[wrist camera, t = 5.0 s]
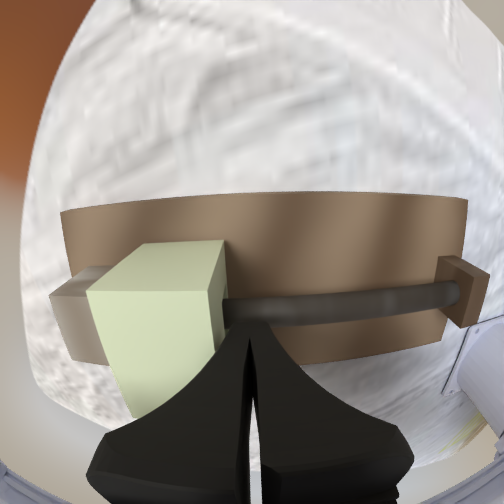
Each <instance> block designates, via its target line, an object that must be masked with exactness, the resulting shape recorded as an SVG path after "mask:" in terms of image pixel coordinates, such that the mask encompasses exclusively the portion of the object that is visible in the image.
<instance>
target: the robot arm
mask: <svg viewBox="0 0 504 504" xmlns="http://www.w3.org/2000/svg"><path fill="white" fill-rule="evenodd" d="M461 390H463V391H464V392H465V393H466V394H467V396H468V397H469V398H470V400H471V401H472V402H473V403H474V405H475V406H476V407H477V409H478V410H479V411H480V413H481V414H482V416H483V417H484V418H485V420H486V421H487V422H488V424H489V425H490V427H491V428H492V429H493V431H494V432H495V434H496V435H497V436H498V438H499V441H498V442H497V443H496V444H495V447H496V448H497V450H498V451H497V452H496V454H495V457H494V461H493V462H492V463H490V464H489V465H487V466H486V467H484V468H483V469H481V470H480V471H478V472H477V473H476V474H474V475H472V476H470V477H469V478H467V479H466V480H464V481H462V482H460V483H459V484H457V485H455V486H453V487H451V488H450V489H448V490H446V491H444V492H442V493H440V494H438V495H436V496H434V497H432V498H430V499H428V500H425V501H423V502H421V503H419V504H504V315H503V316H500V317H498V318H495V319H492V320H489V321H486V322H482V323H479V324H476V325H473V326H471V327H470V328H469V330H468V332H467V335H466V338H465V341H464V344H463V346H462V349H461V351H460V354H459V356H458V359H457V361H456V364H455V366H454V368H453V371H452V373H451V375H450V377H449V380H448V382H447V384H446V386H445V388H444V390H443V392H442V395H443V397H446V396H449V395H451V394H454V393H456V392H459V391H461ZM253 400H254V406H255V413H256V420H257V427H258V433H259V443H260V464H261V485H262V486H261V487H262V504H397V501H396V499H397V498H399V492H398V490H397V487H396V485H397V483H399V481H400V480H401V479H402V478H403V477H404V476H405V474H406V473H407V472H408V471H409V469H410V468H411V466H412V464H413V462H414V455H413V452H412V450H411V448H410V446H409V444H408V442H407V441H406V439H405V437H404V436H403V434H402V433H401V432H400V430H399V429H398V427H397V426H396V425H393V424H391V423H388V422H385V421H383V420H380V419H378V418H375V417H372V416H370V415H368V414H365V413H363V412H361V411H359V410H357V409H355V408H354V407H352V406H350V405H348V404H346V403H345V402H343V401H341V400H340V399H338V398H337V397H335V396H334V395H332V394H331V393H329V392H328V391H326V390H325V389H324V388H322V387H321V386H320V385H319V384H317V383H316V382H315V381H314V380H313V379H312V378H310V377H309V376H308V375H307V374H306V373H305V372H304V371H303V370H302V369H301V368H300V367H299V366H298V365H297V364H296V363H295V361H294V360H293V359H292V358H291V357H290V356H289V355H288V353H287V352H286V351H285V349H284V348H283V347H282V345H281V344H280V343H279V341H278V340H277V338H276V337H275V335H274V333H273V332H272V330H271V328H270V326H269V324H268V323H267V322H266V321H263V322H236V323H233V324H232V325H231V327H230V329H229V331H228V333H227V335H226V337H225V338H224V340H223V341H222V343H221V344H220V346H219V347H218V349H217V350H216V352H215V353H214V355H213V356H212V357H211V358H210V360H209V361H208V362H207V363H206V365H205V366H204V367H203V368H202V369H201V371H200V372H199V373H198V374H197V375H196V376H195V377H194V378H193V379H192V380H191V381H190V382H189V383H188V384H187V385H186V386H185V387H184V388H182V389H181V390H180V391H179V392H178V393H176V394H175V395H174V396H173V397H172V398H170V399H169V400H168V401H166V402H165V403H164V404H162V405H161V406H159V407H158V408H156V409H154V410H153V411H151V412H150V413H148V414H146V415H144V416H143V417H141V418H139V419H137V420H135V421H133V422H131V423H129V424H127V425H125V426H122V427H120V428H118V429H116V430H113V431H111V432H109V433H106V434H105V435H104V437H103V438H102V440H101V442H100V443H99V445H98V447H97V449H96V452H95V454H94V457H93V459H92V461H91V464H90V466H89V468H88V471H87V473H86V477H87V480H88V482H89V484H90V485H91V486H92V487H93V488H94V489H95V490H96V491H97V492H98V493H99V494H101V495H102V496H103V497H104V498H105V499H106V500H107V501H109V502H110V503H111V504H251V502H250V501H251V500H250V463H249V435H250V424H251V413H252V401H253ZM0 504H72V503H70V502H68V501H65V500H63V499H61V498H59V497H57V496H55V495H53V494H51V493H49V492H47V491H45V490H43V489H41V488H40V487H38V486H36V485H34V484H33V483H31V482H29V481H27V480H26V479H24V478H22V477H21V476H19V475H17V474H16V473H14V472H13V471H11V470H10V469H8V468H7V466H6V465H5V464H4V463H3V462H2V461H1V460H0Z"/></svg>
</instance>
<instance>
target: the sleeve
mask: <svg viewBox="0 0 504 504" xmlns="http://www.w3.org/2000/svg"><path fill="white" fill-rule="evenodd" d="M86 294H87V298H88V302H89V305H90V309H91V312H92V316H93V319H94V322H95V325H96V328H97V332H98V335H99V338H100V340H101V343H102V346H103V349H104V352H105V354H106V357H107V360H108V362H109V365H110V368H111V370H112V373H113V375H114V377H115V380H116V382H117V385H118V387H119V389H120V391H121V394H122V396H123V398H124V400H125V402H126V405H127V407H128V409H129V411H130V413H131V415H132V417H133V418H138V419H139V418H141V417H143V416H144V415H146V414H148V413H150V412H151V411H153V410H154V409H156V408H158V407H159V406H161V405H162V404H164V403H165V402H166V401H168V400H169V399H170V398H172V397H173V396H174V395H175V394H176V393H178V392H179V391H180V390H181V389H182V388H184V387H185V386H186V385H187V384H188V383H189V382H190V381H191V380H192V379H193V378H194V377H195V376H196V375H197V374H198V373H199V372H200V371H201V369H202V368H203V367H204V366H205V365H206V363H207V362H208V361H209V360H210V358H211V357H212V356H213V355H214V353H215V352H216V350H217V349H218V347H219V346H220V344H221V343H222V341H223V340H224V338H225V337H226V335H227V333H228V331H229V329H224V321H223V311H222V300H223V299H225V298H228V290H227V277H226V264H225V249H224V240H207V241H186V242H166V243H147V244H142V245H141V246H140V247H139V248H137V249H136V250H135V251H133V252H132V253H131V254H130V255H128V256H127V257H126V258H125V259H123V260H122V261H121V262H120V263H118V264H117V265H116V266H115V267H113V268H112V269H111V270H110V271H108V272H107V273H106V274H105V275H104V276H102V277H101V278H100V279H99V280H98V281H96V282H95V283H94V284H93V285H92V286H91V287H89V288H88V289H87V290H86Z"/></svg>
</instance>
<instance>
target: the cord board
mask: <svg viewBox="0 0 504 504" xmlns="http://www.w3.org/2000/svg"><path fill="white" fill-rule="evenodd" d="M467 208H468V200H466V199H462V198H457V197H445V196H433V195H418V194H401V193H378V192H332V191H305V192H258V193H234V194H216V195H200V196H186V197H174V198H162V199H151V200H141V201H132V202H123V203H115V204H107V205H99V206H91V207H84V208H77V209H71V210H67V211H64V212H60V215H61V222H62V229H63V235H64V241H65V247H66V252H67V257H68V262H69V266H70V271H71V275H72V278H71V279H70V280H68V281H67V282H66V283H64V284H63V285H62V286H60V287H59V288H58V289H56V290H55V291H54V292H52V293H51V294H50V295H49V298H50V302H51V305H52V308H53V311H54V314H55V317H56V320H57V323H58V326H59V329H60V331H61V334H62V337H63V339H64V342H65V344H66V347H67V349H68V352H69V354H70V356H71V359H72V360H75V361H81V362H86V363H93V364H99V365H106V366H110V365H109V362H108V360H107V357H106V354H105V352H104V349H103V346H102V343H101V340H100V338H99V335H98V332H97V328H96V325H95V322H94V319H93V316H92V312H91V309H90V305H89V302H88V298H87V294H86V290H87V289H88V288H89V287H91V286H92V285H93V284H94V283H95V282H96V281H98V280H99V279H100V278H101V277H102V276H104V275H105V274H106V273H107V272H108V271H110V270H111V269H112V268H113V267H115V266H116V265H117V264H118V263H120V262H121V261H122V260H123V259H125V258H126V257H127V256H128V255H130V254H131V253H132V252H133V251H135V250H136V249H137V248H139V247H140V246H141V245H142V244H147V243H166V242H186V241H207V240H224V249H225V264H226V277H227V290H228V298H225V299H223V300H222V311H223V321H224V329H230V327H231V325H232V324H233V323H236V322H263V321H266V322H267V323H268V324H269V326H270V328H271V330H272V332H273V333H274V335H275V337H276V338H277V340H278V341H279V343H280V344H281V345H282V347H283V348H284V349H285V351H286V352H287V353H288V355H289V356H290V357H291V358H292V359H293V360H294V361H295V363H296V364H297V365H307V364H317V363H326V362H334V361H341V360H348V359H355V358H362V357H368V356H374V355H379V354H385V353H390V352H395V351H400V350H404V349H409V348H413V347H418V346H422V345H426V344H430V343H434V342H438V341H441V339H442V335H443V332H444V329H445V326H446V323H447V319H448V318H449V319H450V320H451V321H452V322H454V323H455V324H456V325H457V326H458V327H459V328H460V329H461V328H465V327H468V326H471V325H475V324H477V321H478V318H479V315H480V312H481V309H482V305H483V302H484V298H485V294H486V290H487V287H488V282H489V278H490V274H488V273H486V272H484V271H483V270H481V269H479V268H477V267H476V266H474V265H472V264H470V263H468V262H466V261H465V260H463V259H461V257H462V251H463V245H464V237H465V229H466V220H467Z"/></svg>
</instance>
